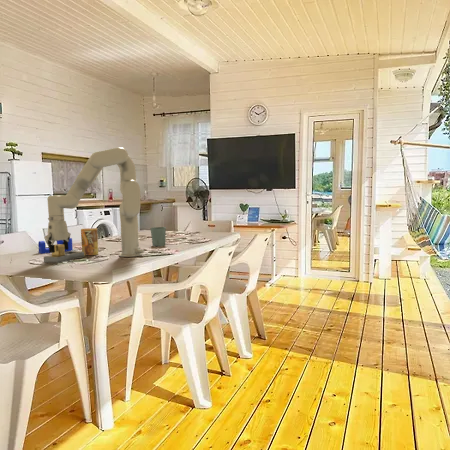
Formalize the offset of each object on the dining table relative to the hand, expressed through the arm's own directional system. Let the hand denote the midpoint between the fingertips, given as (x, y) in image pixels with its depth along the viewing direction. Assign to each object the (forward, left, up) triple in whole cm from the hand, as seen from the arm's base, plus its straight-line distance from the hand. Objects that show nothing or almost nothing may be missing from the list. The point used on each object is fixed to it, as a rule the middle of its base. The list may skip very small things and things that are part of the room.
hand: (59, 250), depth 215 cm
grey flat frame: (0, -4, -5) cm, 7 cm away
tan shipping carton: (0, 0, -5) cm, 5 cm away
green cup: (-20, -68, -6) cm, 71 cm away
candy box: (-2, -22, -6) cm, 23 cm away
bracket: (+29, -27, -6) cm, 40 cm away
